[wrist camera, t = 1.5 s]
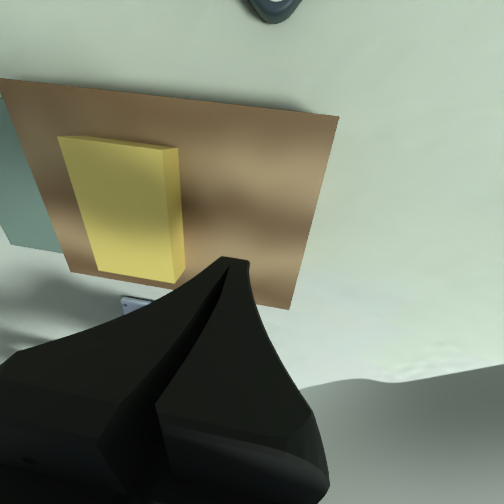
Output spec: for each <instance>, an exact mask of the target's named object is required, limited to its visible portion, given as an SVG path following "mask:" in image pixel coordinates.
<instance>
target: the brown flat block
mask: <svg viewBox="0 0 504 504" xmlns="http://www.w3.org/2000/svg"><path fill="white" fill-rule="evenodd" d="M0 92H1V95H2V97H3V100H4V102H5V105H6V107H7V110H8V113H9V115H10V118H11V120H12V123H13V125H14V128H15V131H16V133H17V136H18V138H19V141H20V143H21V146H22V148H23V151H24V154H25V156H26V159H27V161H28V164H29V166H30V169H31V172H32V174H33V177H34V179H35V182H36V184H37V187H38V189H39V192H40V195H41V197H42V200H43V202H44V205H45V207H46V210H47V213H48V215H49V218H50V220H51V223H52V225H53V228H54V230H55V233H56V236H57V238H58V241H59V243H60V246H61V248H62V251H63V254H64V256H65V259H66V261H67V264H68V266H69V269H70V271H71V272H74V273H80V274H86V275H92V276H97V277H103V278H109V279H115V280H120V281H126V282H132V283H138V284H143V285H149V286H155V287H160V288H166V289H172V290H175V289H177V288H178V287H180V286H181V285H183V284H184V283H186V282H187V281H189V280H190V279H192V278H193V277H194V276H196V275H197V274H199V273H200V272H201V271H203V270H204V269H205V268H207V267H208V266H209V265H210V264H212V263H213V262H214V261H215V260H217V259H218V258H219V257H221V256H225V257H232V258H238V259H244V260H248V261H249V262H250V269H249V275H250V283H251V288H252V292H253V296H254V300H255V303H256V304H258V305H264V306H269V307H275V308H281V309H287V310H289V308H290V304H291V301H292V297H293V293H294V289H295V285H296V281H297V277H298V274H299V270H300V266H301V262H302V258H303V254H304V251H305V247H306V243H307V239H308V235H309V231H310V228H311V224H312V220H313V216H314V212H315V208H316V205H317V201H318V197H319V193H320V189H321V185H322V182H323V178H324V174H325V170H326V166H327V162H328V158H329V155H330V151H331V147H332V143H333V139H334V135H335V132H336V128H337V124H338V120H339V116H332V115H323V114H314V113H305V112H296V111H287V110H278V109H270V108H261V107H252V106H243V105H234V104H225V103H216V102H208V101H199V100H190V99H181V98H172V97H163V96H154V95H146V94H137V93H128V92H119V91H110V90H101V89H92V88H84V87H75V86H66V85H57V84H48V83H39V82H30V81H21V80H13V79H4V78H0ZM57 136H91V137H99V138H107V139H114V140H122V141H130V142H138V143H146V144H153V145H161V146H169V147H177V148H178V156H179V172H180V188H181V204H182V220H183V236H184V252H185V268H186V269H185V270H184V271H183V273H182V274H181V276H180V277H179V278H178V280H177V281H176V282H175V284H174V283H168V282H162V281H157V280H151V279H145V278H139V277H133V276H128V275H122V274H116V273H110V272H104V271H99V270H98V267H97V264H96V261H95V257H94V254H93V251H92V248H91V244H90V241H89V238H88V235H87V232H86V228H85V225H84V222H83V219H82V215H81V212H80V209H79V206H78V202H77V199H76V196H75V193H74V190H73V186H72V183H71V180H70V177H69V173H68V170H67V167H66V164H65V160H64V157H63V154H62V151H61V148H60V144H59V141H58V138H57Z"/></svg>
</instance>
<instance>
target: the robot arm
mask: <svg viewBox="0 0 504 504" xmlns="http://www.w3.org/2000/svg"><path fill="white" fill-rule="evenodd" d="M249 269H250V262H249V261H248V260H244V259H238V258H232V257H225V256H221V257H219V258H218V259H217V260H215V261H214V262H213V263H212V264H210V265H209V266H208V267H207V268H205V269H204V270H203V271H201V272H200V273H199V274H197V275H196V276H194V277H193V278H192V279H190V280H189V281H187V282H186V283H184V284H183V285H181V286H180V287H178V288H177V289H175V290H173V291H172V292H170V293H168V294H166V295H165V296H163V297H161V298H159V299H157V300H155V301H153V302H150V301H145V300H139V299H134V298H128V297H123V298H122V299H121V305H122V308H123V312H124V315H123V316H121V317H119V318H116V319H114V320H111V321H109V322H106V323H103V324H101V325H98V326H95V327H93V328H90V329H87V330H84V331H82V332H79V333H76V334H73V335H70V336H67V337H63V338H60V339H57V340H54V341H51V342H47V343H44V344H41V345H38V346H34V347H31V348H28V349H24V350H21V351H17V352H16V353H15V354H13V355H12V356H11V357H10V358H8V359H7V360H6V361H5V362H3V363H2V364H1V365H0V504H318V502H319V501H320V500H321V499H322V498H323V497H324V496H325V494H326V493H327V491H328V489H329V486H330V481H329V472H328V466H327V461H326V456H325V452H324V448H323V443H322V440H321V436H320V432H319V429H318V426H317V423H316V419H315V416H314V413H313V411H312V409H311V408H310V406H309V405H308V403H307V402H306V400H305V399H304V397H303V396H302V395H301V393H300V391H299V390H298V388H297V387H296V385H295V383H294V382H293V380H292V379H291V377H290V375H289V374H288V372H287V370H286V369H285V367H284V365H283V364H282V362H281V360H280V358H279V356H278V354H277V352H276V350H275V348H274V347H273V345H272V343H271V341H270V339H269V337H268V335H267V332H266V330H265V328H264V325H263V323H262V320H261V318H260V315H259V313H258V310H257V307H256V303H255V300H254V296H253V292H252V288H251V283H250V275H249Z"/></svg>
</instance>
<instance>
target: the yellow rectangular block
mask: <svg viewBox="0 0 504 504" xmlns="http://www.w3.org/2000/svg"><path fill="white" fill-rule="evenodd" d="M57 138H58V141H59V144H60V148H61V151H62V154H63V157H64V160H65V164H66V167H67V170H68V173H69V177H70V180H71V183H72V186H73V190H74V193H75V196H76V199H77V202H78V206H79V209H80V212H81V215H82V219H83V222H84V225H85V228H86V232H87V235H88V238H89V241H90V244H91V248H92V251H93V254H94V257H95V261H96V264H97V267H98V270H99V271H104V272H110V273H116V274H122V275H128V276H133V277H139V278H145V279H151V280H157V281H162V282H168V283H174V284H175V282H176V281H177V280H178V278H179V277H180V276H181V274H182V273H183V271H184V270H185V269H186V268H185V252H184V236H183V220H182V204H181V188H180V172H179V156H178V148H177V147H169V146H161V145H153V144H146V143H138V142H130V141H122V140H114V139H107V138H99V137H91V136H57Z"/></svg>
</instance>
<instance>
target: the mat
mask: <svg viewBox="0 0 504 504" xmlns="http://www.w3.org/2000/svg"><path fill="white" fill-rule="evenodd" d="M0 225H1V227H2V229H3V230H4V232H5V234H6V236H7V238H8V240H9V242H10V244H11V245H16V246H22V247H28V248H34V249H40V250H46V251H52V252H58V253H63V251H62V248H61V246H60V243H59V241H58V238H57V236H56V233H55V230H54V228H53V225H52V223H51V220H50V218H49V215H48V213H47V210H46V207H45V205H44V202H43V200H42V197H41V195H40V192H39V189H38V187H37V184H36V182H35V179H34V177H33V174H32V172H31V169H30V166H29V164H28V161H27V159H26V156H25V154H24V151H23V148H22V146H21V143H20V141H19V138H18V136H17V133H16V131H15V128H14V125H13V123H12V120H11V118H10V115H9V113H8V110H7V107H6V105H5V102H4V100H3V98H0Z"/></svg>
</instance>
